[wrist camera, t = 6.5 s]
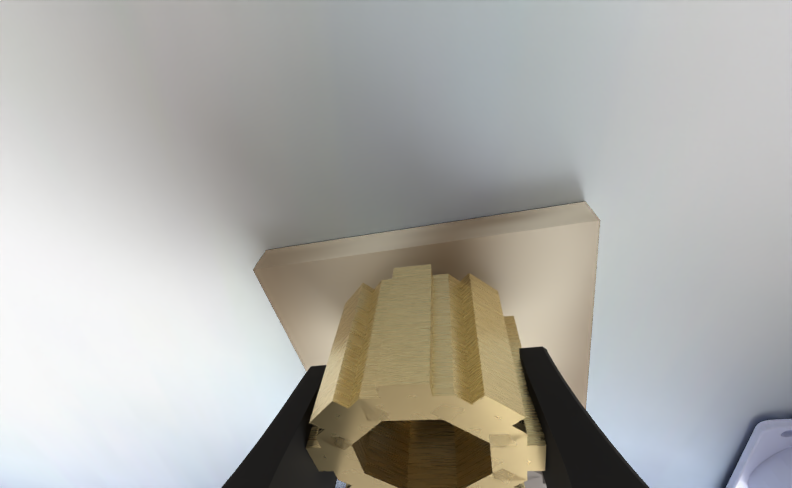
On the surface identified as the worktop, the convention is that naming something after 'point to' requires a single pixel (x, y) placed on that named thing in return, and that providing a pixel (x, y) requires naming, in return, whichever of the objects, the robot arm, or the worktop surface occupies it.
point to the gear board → (456, 255)
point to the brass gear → (426, 389)
